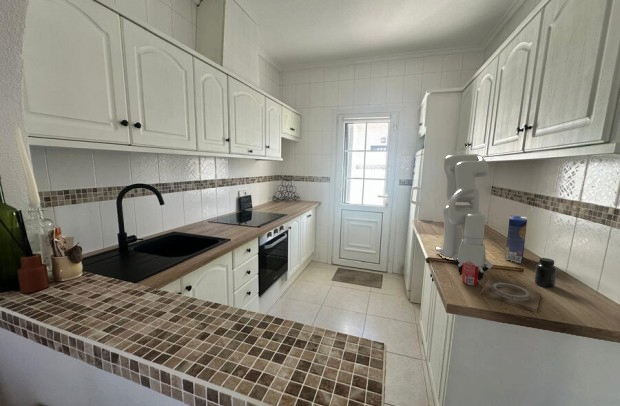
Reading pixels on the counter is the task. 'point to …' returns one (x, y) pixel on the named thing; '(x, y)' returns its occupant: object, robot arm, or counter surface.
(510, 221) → the juice carton
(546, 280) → the supplement bottle
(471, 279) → the soda can
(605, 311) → the counter surface
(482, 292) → the locating board
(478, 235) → the robot arm
